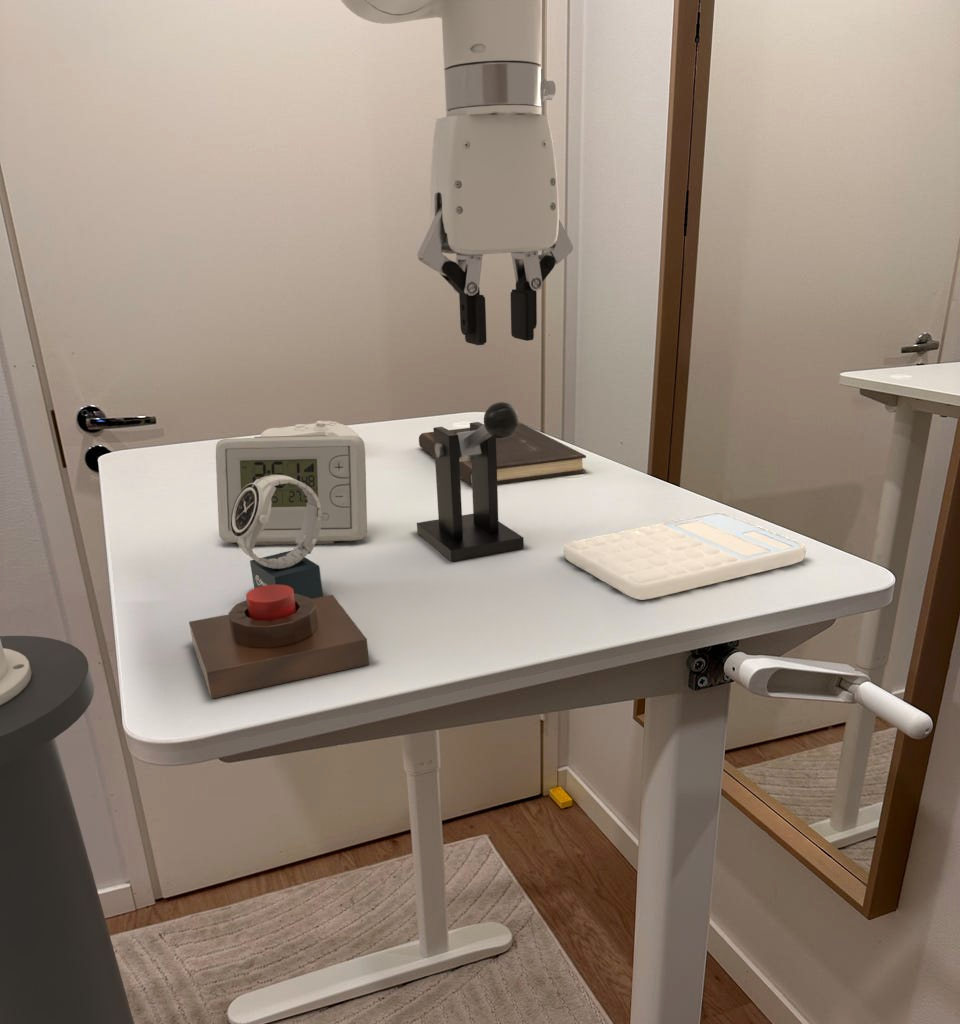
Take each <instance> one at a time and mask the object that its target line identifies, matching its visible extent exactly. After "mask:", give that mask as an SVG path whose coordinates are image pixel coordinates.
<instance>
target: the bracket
mask: <svg viewBox="0 0 960 1024" xmlns="http://www.w3.org/2000/svg"><path fill="white" fill-rule="evenodd" d="M482 425H484V423H482V422H479V421H473V422H470V423H469V428H470V431H475V430H477V429H478V428H479V427H481V426H482ZM450 430H451V429H447V428H445V427H443V426H436V427H433V432H434V448H435V458H434V461H435V465H434V466H435V481H436V482H435V483H436V499H437V500H436V501H437V515H438V518H437V519H432V520H426V521H425V520H424V521H419V522H416V531H417V532H416V533H417V534H418V535H419V536H420V537H421V538H423V539H424V540H425V541H426V542H428V544H430V546H432V547H433V548H434V549H435V550H437V552H439V553H440V554H442V555H443V556H444V557H445V558H446V559H448V560H449V561H450V562H458V561H463V560H467V559H473V558H480V557H484V556H490V555H495V554H500V553H506V552H513V551H517V550H522V549H524V545H525V544H524V537H523V536H522V535H520V534H518V533H517V532H515V531H514V530H513V529H511V528H510V527H508V526H507V525H505V524H504V523H502V522H501V521H499V497H498V494H499V492H498V491H499V490H498V484H497V454H496V438H495V437H493V436H491V437H489V438H488V439H487V440H485V441H484V442H482V443H481V444H480V447H481V452H482V454H480V455H479V456H477V457H476V458H474V459H473V460H471V468H472V486H471V487H472V488H471V491H472V513H468V514H463V511H462V510H463V508H462V507H463V505H462V490H461V489H462V487H461V486H462V485H461V477H460V462H459V440H458V435H457V434H455V433H453V432H452V431H450Z"/></svg>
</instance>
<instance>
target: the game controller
mask: <svg viewBox="0 0 960 1024" xmlns="http://www.w3.org/2000/svg"><path fill="white" fill-rule="evenodd" d="M310 435H326V436H358V437H360V435H359V433H357V432H356V431H355V430H354V429H353V428H351V427H349V426H348V425H346V424H343V423H340V422H337V421H332V420H316V422H313V423H306V424H304V423H297V424H295V425H290V426H283V427H270V428H267V429H265V430H263V431H262V432H261V434H260V437H267V436H310Z"/></svg>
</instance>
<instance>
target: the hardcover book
mask: <svg viewBox="0 0 960 1024" xmlns="http://www.w3.org/2000/svg"><path fill="white" fill-rule="evenodd" d="M449 430H450V431H452V432H453V433H455V434H456V433H459V432H467V431H470V427H465V428H456V429H449ZM418 445H419V447H420V448H421V449H423V450H424V451H425V452H426V453H428V454H429V455H430V456H431V457H433V458H434V459H435V448H434V431H428V432H427V431H426V432H421V433H420V434H419V436H418ZM496 454H497V485H503V484H510V483H517V482H525V481H532V480H533V481H534V480H540V479H547V478H556V477H562V476H563V477H564V476H570V475H579V474H586V472H587V470H586V469H584V468H583V459H586V458H587V455H586V454H584V453H582V452H580V451H578V450H576V449H574V448H572V447H570V446H568V445H566V444H564V443H562V442H560V441H558V440H556V439H555V438H552V437H550V436H549V435H546V434H544V433H542V432H540V431H538V430H536V429H534V428H532V427H530V426H528V425H526V424H524V423H523V422H520V421H519V425H518V428H517V430H516V431H515V432H514V434H512V435H511V436H509V437H507V438H502V439H500V438H496ZM460 479H462V480H463V481H465V482H466V483H468V484H469V486H471V487H472V468H471V460H468V461H460Z"/></svg>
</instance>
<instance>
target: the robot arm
mask: <svg viewBox="0 0 960 1024" xmlns="http://www.w3.org/2000/svg"><path fill="white" fill-rule="evenodd" d="M340 1H341V2H342V4H343V5H344V6H345V7H346V8H347V9H348V10H349V11H350V12H352V13H353V14H354V15H356V16H357V17H359V18H361V19H362V20H365V21H368V22H371V23H376V24H386V25H387V24H388V25H390V24H399V23H405V22H413V21H418V20H427V19H435V18H440V19H441V27H442V28H441V29H442V30H441V31H442V53H443V54H442V55H443V71H444V75H443V76H444V97H445V98H444V99H445V116H444V117H440V118H436V119H435V125H434V132H433V140H432V149H431V162H430V163H431V164H430V165H431V166H430V185H429V187H430V189H429V191H430V192H429V226H430V227H429V228H428V231H427V232H426V235H425V236H424V239H423V241H422V243H421V245H420V247H419V250H418V251H417V255H416V256H417V259H418V260H419V262H421V263H423V264H424V265H425V266H427V267H429V268H430V269H432V270H433V271H435V272H437V273H439V275H440V276H442V278H443V279H444V280H445V281H446V282H447V283H448V284H449V285H450V286H451V287H452V288H453V290H454V292H455V293H456V294H458V301H459V319H460V320H459V322H460V331H461V334H462V335H464V339H465V340H464V341H465V342H466V343H468V344H471V345H475V346H484V345H485V344H486V343H487V315H486V314H487V312H486V297H485V296H484V294H480V293H481V292H480V281H481V272H482V264H483V255H492V254H493V255H495V254H497V255H498V254H511V259H512V260H511V261H512V266H513V267H512V268H513V272H514V273H513V274H514V279H515V289H511V291H510V334H511V336H512V338H514V339H516V340H522V341H525V342H526V341H527V342H528V341H533V340H534V337H535V333H534V331H535V329H536V328H537V324H538V317H537V316H538V309H537V307H538V305H537V304H538V303H537V291H540V290H541V288H542V287H543V282H544V281H545V280H546V278H547V277H548V276H549V275H550V274H551V272H552V271H553V270H554V268H555V266H556V265H558V264H559V263H560V262H561V261H563V260H564V259H565V258H566V257H567V256H569V255H570V254H571V253H572V252H573V249H574V246H573V244H572V243H573V242H572V241H571V238H570V237H569V235H568V234H567V231H566V230H565V227H564V226H563V224H562V222H561V220H560V218H559V217H560V206H559V205H560V204H559V203H560V200H559V187H558V185H559V183H558V182H559V181H558V172H557V171H558V170H557V161H556V153H555V147H554V141H553V135H552V129H551V125H550V124H551V123H550V119H549V115H548V114H542V108H543V107H544V102H545V101H552V100H554V98H555V96H556V83H555V81H554V80H547V79H546V78H544V69H543V68H542V67H541V66H542V55H541V54H542V52H541V51H542V48H541V46H542V39H541V38H542V37H541V36H542V35H541V33H542V32H541V31H542V30H541V29H542V28H541V27H542V26H541V25H542V24H541V22H542V21H541V19H542V18H541V10H542V9H541V6H542V5H541V0H340ZM539 251H540V252H541V251H543V252H542V253H541V254H539ZM444 254H450V255H451V254H452V255H453V254H456V255H455V261H453V260H451V259H450V258H448V257H447V256H446V255H444ZM31 674H32V672H31V668H30V664H29V661H28V660H27V658H26V657H25V656H24V655H22V654H21V653H19V652H16V651H13V650H10V649H5V648H3V647H2V644H1V640H0V706H1V705H3V704H5V703H6V702H8V701H10V700H11V699H12V698H14V697H15V696H17V695H18V694H19V693H20V692H21V691H22V690H23V689H24V688H25V687H26V686H27V684H28V683H29V681H30V679H31Z"/></svg>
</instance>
